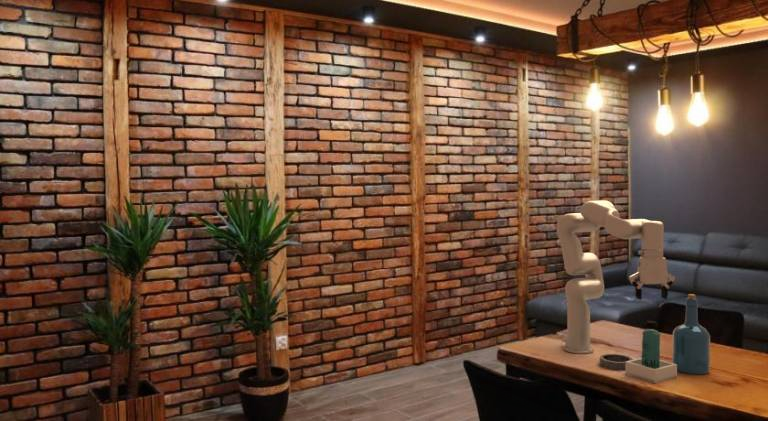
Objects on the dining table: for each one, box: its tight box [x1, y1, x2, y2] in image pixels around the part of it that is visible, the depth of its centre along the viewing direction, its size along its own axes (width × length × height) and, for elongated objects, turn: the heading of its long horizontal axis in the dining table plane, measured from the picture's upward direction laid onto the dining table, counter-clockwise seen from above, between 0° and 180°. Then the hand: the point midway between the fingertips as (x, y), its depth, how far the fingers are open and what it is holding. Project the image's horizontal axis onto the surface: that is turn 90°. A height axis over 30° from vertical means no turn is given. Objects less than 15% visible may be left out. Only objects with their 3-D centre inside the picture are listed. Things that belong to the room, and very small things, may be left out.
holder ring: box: [598, 353, 634, 371], centre depth 260 cm, size 12×12×3 cm
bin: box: [624, 357, 678, 384], centre depth 246 cm, size 13×13×5 cm
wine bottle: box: [671, 293, 711, 376], centre depth 252 cm, size 14×13×30 cm
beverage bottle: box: [641, 320, 661, 369], centre depth 246 cm, size 6×7×20 cm
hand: (651, 298), depth 245 cm, fingers open, 9 cm apart
